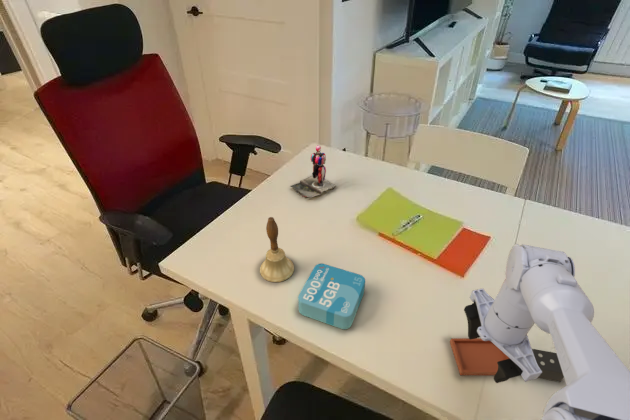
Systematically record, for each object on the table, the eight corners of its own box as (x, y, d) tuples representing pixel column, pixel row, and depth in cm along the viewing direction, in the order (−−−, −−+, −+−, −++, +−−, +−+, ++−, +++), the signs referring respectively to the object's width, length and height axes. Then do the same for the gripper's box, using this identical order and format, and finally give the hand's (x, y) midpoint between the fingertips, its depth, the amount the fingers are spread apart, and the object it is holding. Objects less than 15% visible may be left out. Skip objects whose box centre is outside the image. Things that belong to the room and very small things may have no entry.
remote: (554, 362, 71) (560, 353, 70) (560, 382, 68) (567, 373, 66) (515, 355, 73) (520, 346, 71) (519, 374, 70) (525, 365, 68)
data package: (350, 319, 74) (295, 300, 77) (349, 332, 77) (296, 313, 80) (367, 276, 82) (317, 261, 86) (365, 289, 85) (317, 274, 89)
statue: (315, 179, 123) (318, 136, 114) (335, 191, 117) (340, 147, 109) (289, 189, 116) (291, 144, 108) (309, 202, 111) (313, 155, 102)
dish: (499, 341, 75) (501, 338, 74) (513, 375, 69) (515, 372, 69) (449, 341, 75) (450, 338, 74) (460, 375, 69) (461, 372, 69)
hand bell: (260, 284, 86) (253, 233, 76) (259, 258, 93) (252, 209, 83) (296, 280, 87) (293, 229, 77) (292, 255, 94) (289, 205, 84)
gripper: (462, 277, 58) (443, 324, 67) (521, 365, 47) (490, 407, 56) (502, 268, 59) (479, 316, 68) (569, 352, 48) (531, 396, 57)
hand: (486, 357), depth 62 cm, fingers open, 7 cm apart
